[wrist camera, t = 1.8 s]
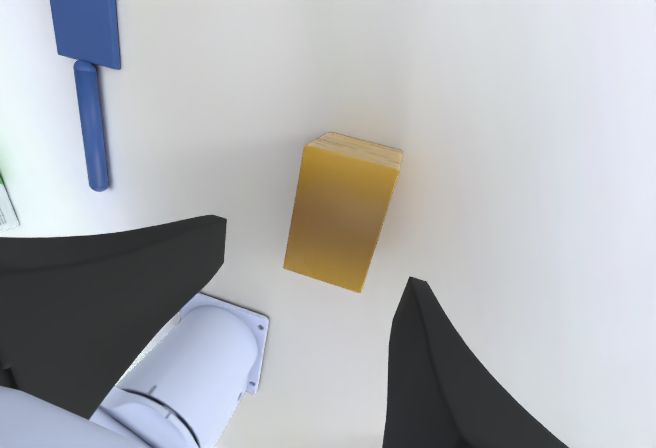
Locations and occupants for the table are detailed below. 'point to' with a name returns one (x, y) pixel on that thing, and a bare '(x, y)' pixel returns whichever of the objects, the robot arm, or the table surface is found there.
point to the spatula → (88, 68)
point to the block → (340, 208)
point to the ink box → (6, 211)
